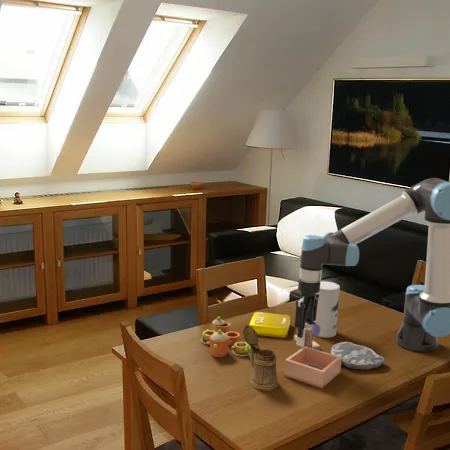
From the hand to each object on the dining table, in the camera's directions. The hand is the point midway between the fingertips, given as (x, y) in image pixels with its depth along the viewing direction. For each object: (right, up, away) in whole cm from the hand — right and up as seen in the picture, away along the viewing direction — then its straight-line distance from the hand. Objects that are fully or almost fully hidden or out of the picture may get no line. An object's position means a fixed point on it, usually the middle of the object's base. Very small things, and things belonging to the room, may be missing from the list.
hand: (303, 343), depth 205 cm
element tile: (-10, 0, +28) cm, 30 cm away
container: (+11, -1, +25) cm, 28 cm away
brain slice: (+18, -7, +1) cm, 20 cm away
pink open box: (+2, -9, -10) cm, 13 cm away
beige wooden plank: (+3, -4, +14) cm, 15 cm away
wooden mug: (-17, -10, -16) cm, 25 cm away
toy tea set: (-29, -3, +12) cm, 31 cm away
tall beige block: (+1, -6, +3) cm, 6 cm away
